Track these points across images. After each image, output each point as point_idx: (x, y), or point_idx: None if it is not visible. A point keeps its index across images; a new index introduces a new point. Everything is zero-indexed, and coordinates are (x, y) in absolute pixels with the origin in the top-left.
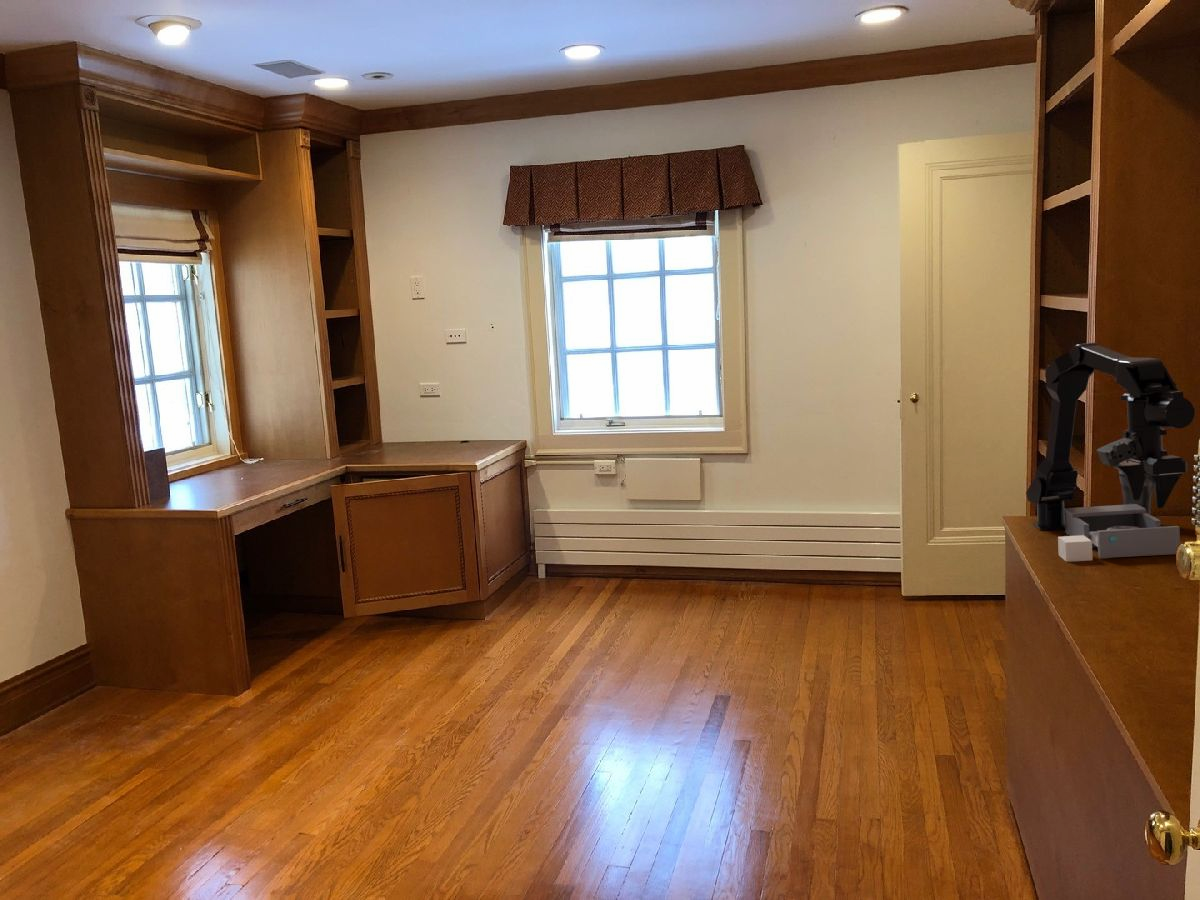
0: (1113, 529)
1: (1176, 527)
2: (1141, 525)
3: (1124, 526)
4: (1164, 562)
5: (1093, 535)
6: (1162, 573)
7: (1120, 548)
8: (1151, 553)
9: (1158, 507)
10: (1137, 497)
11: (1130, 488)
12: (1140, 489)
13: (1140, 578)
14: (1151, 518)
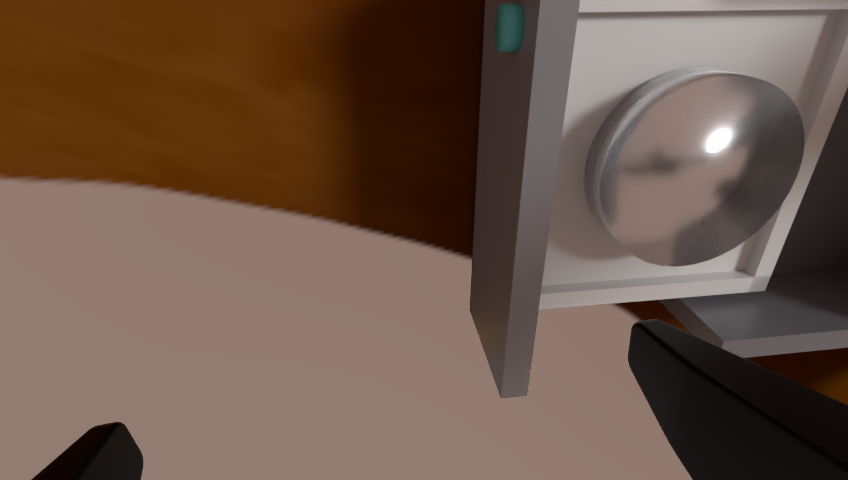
0: (749, 121)
1: (502, 385)
2: (832, 288)
3: (772, 197)
4: (373, 226)
5: (794, 2)
6: (177, 164)
7: (495, 70)
8: (476, 211)
9: (88, 434)
10: (642, 366)
11: (762, 397)
12: (699, 467)
13: (61, 27)
14: (772, 338)
